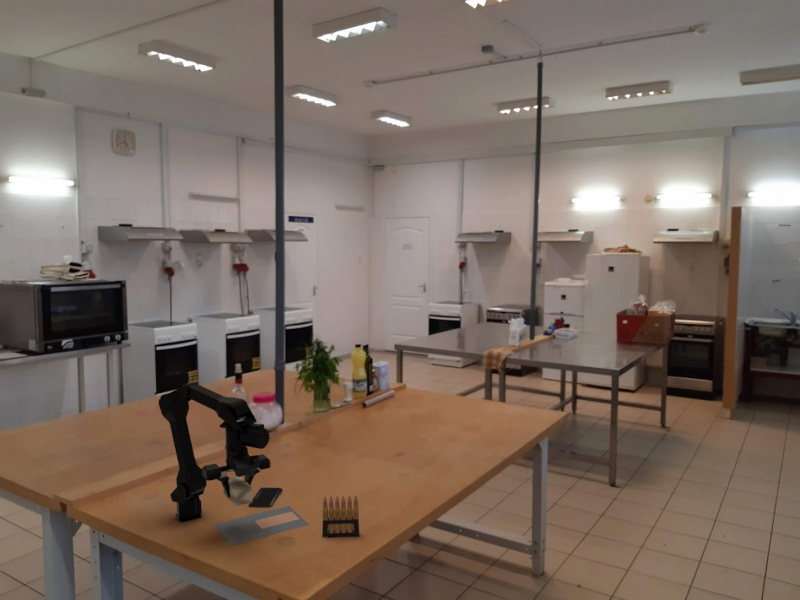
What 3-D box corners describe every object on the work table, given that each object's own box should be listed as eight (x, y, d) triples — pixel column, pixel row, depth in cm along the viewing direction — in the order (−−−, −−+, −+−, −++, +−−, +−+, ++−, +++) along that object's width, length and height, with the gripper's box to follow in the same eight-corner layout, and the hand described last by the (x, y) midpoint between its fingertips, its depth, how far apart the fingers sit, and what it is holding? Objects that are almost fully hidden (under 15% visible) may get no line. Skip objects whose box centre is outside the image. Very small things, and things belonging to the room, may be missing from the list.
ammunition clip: (322, 537, 174) (321, 497, 173) (322, 534, 176) (321, 494, 175) (359, 536, 175) (358, 496, 174) (359, 533, 177) (358, 493, 176)
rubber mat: (230, 547, 169) (230, 545, 169) (213, 525, 183) (213, 524, 183) (309, 525, 182) (309, 524, 182) (288, 506, 196) (288, 505, 196)
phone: (283, 487, 209) (271, 506, 194) (283, 491, 209) (271, 509, 194) (260, 487, 209) (247, 505, 195) (260, 490, 210) (247, 509, 195)
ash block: (235, 506, 172) (234, 491, 171) (223, 493, 181) (223, 478, 181) (252, 502, 175) (252, 487, 174) (240, 489, 184) (239, 475, 183)
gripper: (211, 457, 165) (213, 513, 166) (276, 445, 175) (278, 497, 176) (200, 446, 174) (202, 499, 175) (263, 435, 184) (264, 485, 185)
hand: (237, 495), depth 178 cm, fingers closed on ash block, 5 cm apart
